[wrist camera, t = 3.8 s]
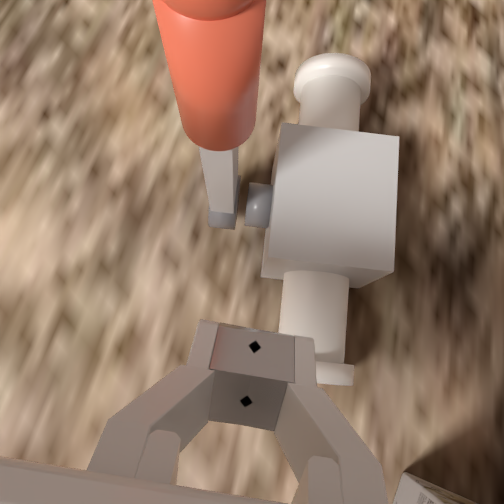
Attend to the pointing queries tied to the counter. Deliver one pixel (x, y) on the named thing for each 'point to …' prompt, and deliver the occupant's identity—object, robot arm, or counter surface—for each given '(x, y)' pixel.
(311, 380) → the robot arm
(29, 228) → the counter surface
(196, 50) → the lever
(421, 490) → the cookie box
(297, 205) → the valve
